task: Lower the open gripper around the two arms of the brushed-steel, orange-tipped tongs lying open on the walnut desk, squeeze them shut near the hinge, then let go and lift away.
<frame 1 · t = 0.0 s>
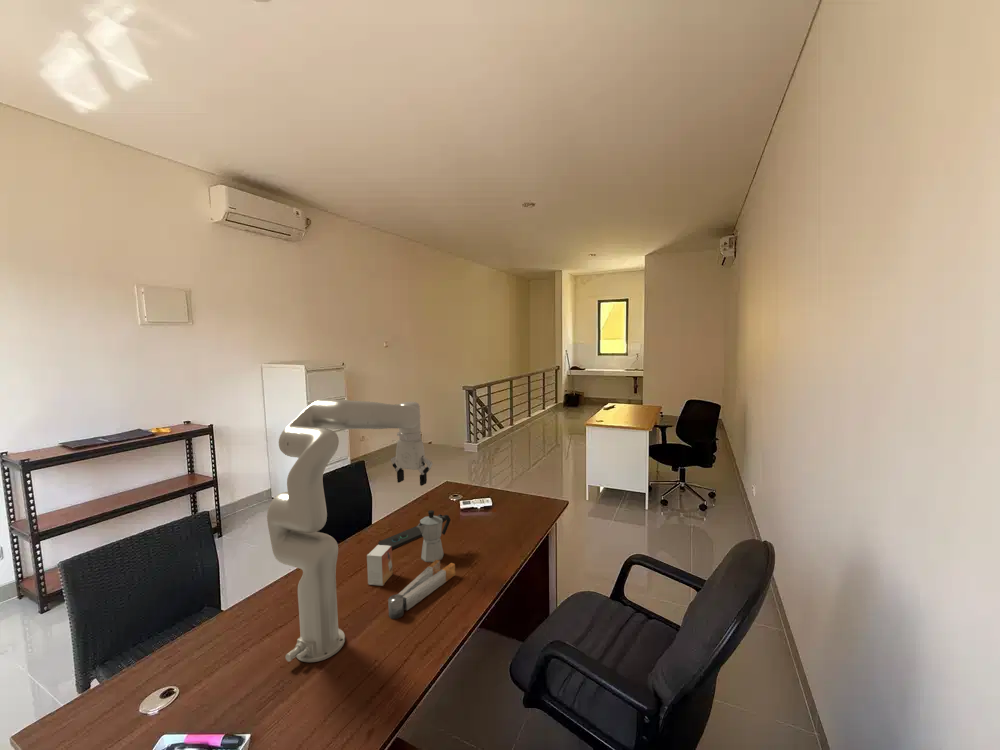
hand: (411, 482, 156), 31 cm above the table, tool pointing down, fingers open, 9 cm apart
coffee maker: (434, 556, 166), on the table
smart home device: (404, 540, 181), on the table
small box: (380, 579, 151), on the table
tongs hinge and fixed arm: (396, 614, 131), on the table
tongs loose arm: (430, 585, 142), point 2 cm above the table, hinge at 10.0°
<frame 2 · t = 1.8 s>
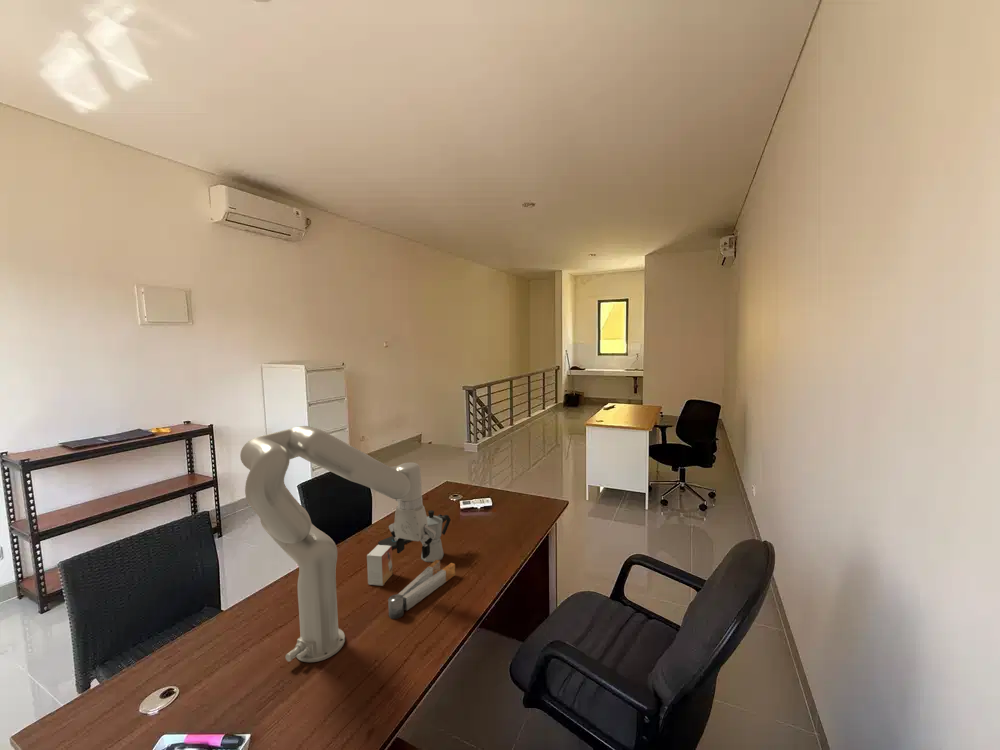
hand: (413, 553, 138), 15 cm above the table, tool pointing down, fingers open, 9 cm apart
nothing on the table moved.
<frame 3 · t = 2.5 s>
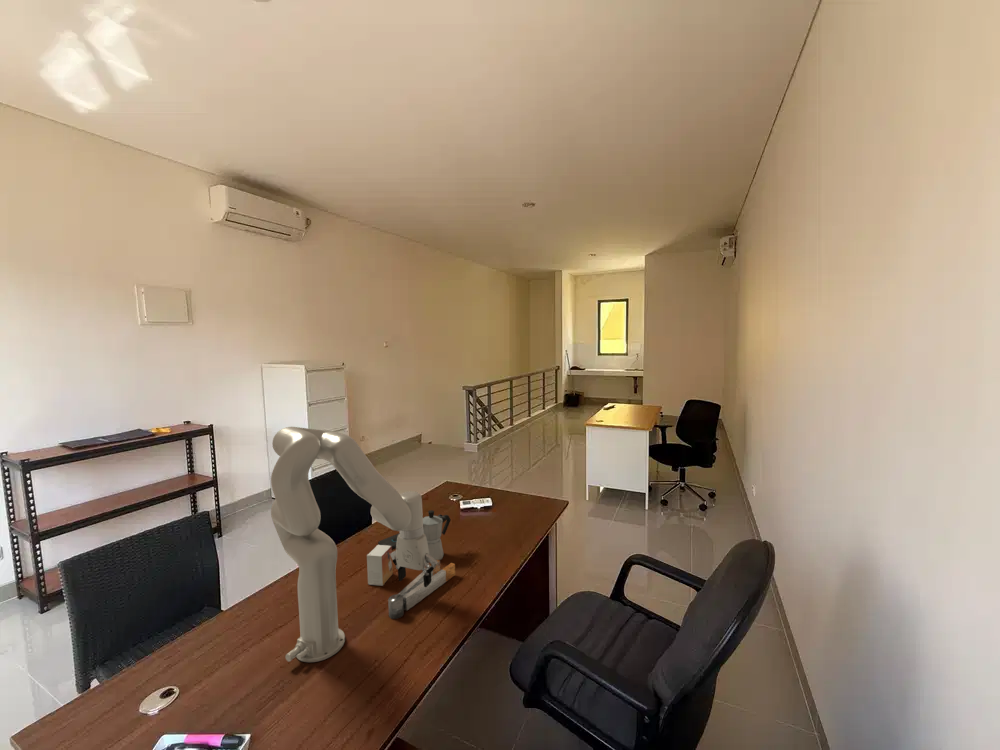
hand: (414, 581, 139), 5 cm above the table, tool pointing down, fingers open, 9 cm apart
nothing on the table moved.
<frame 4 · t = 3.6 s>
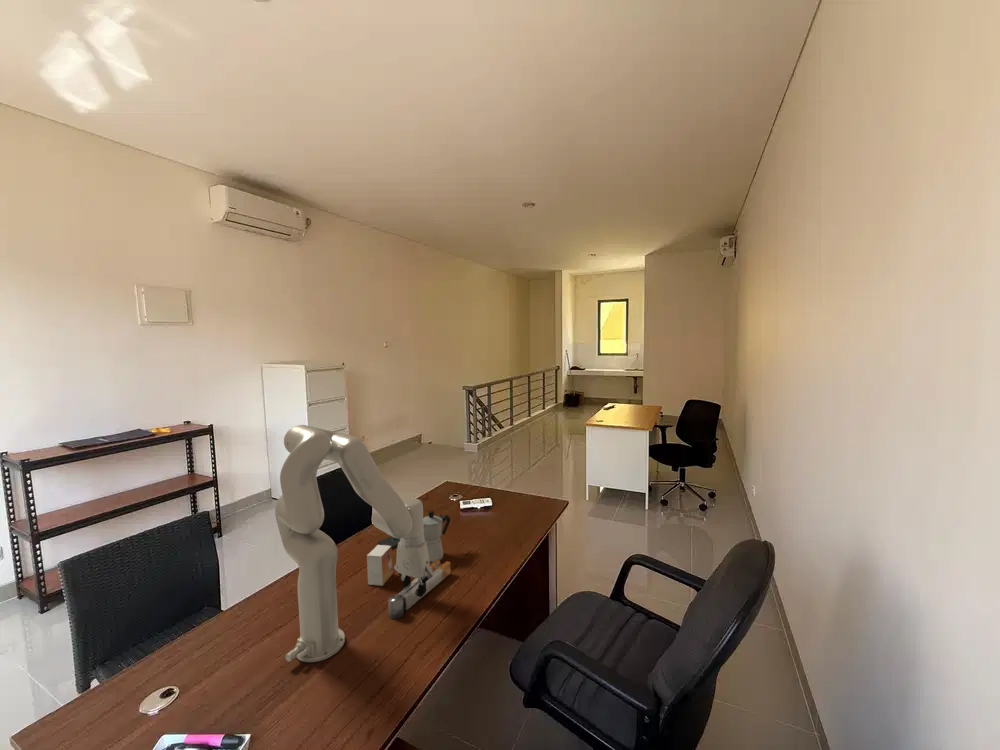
hand: (414, 592, 139), 2 cm above the table, tool pointing down, fingers open, 5 cm apart
tongs loose arm: (428, 584, 143), point 2 cm above the table, hinge at 5.3°, touching gripper
everything else where it was.
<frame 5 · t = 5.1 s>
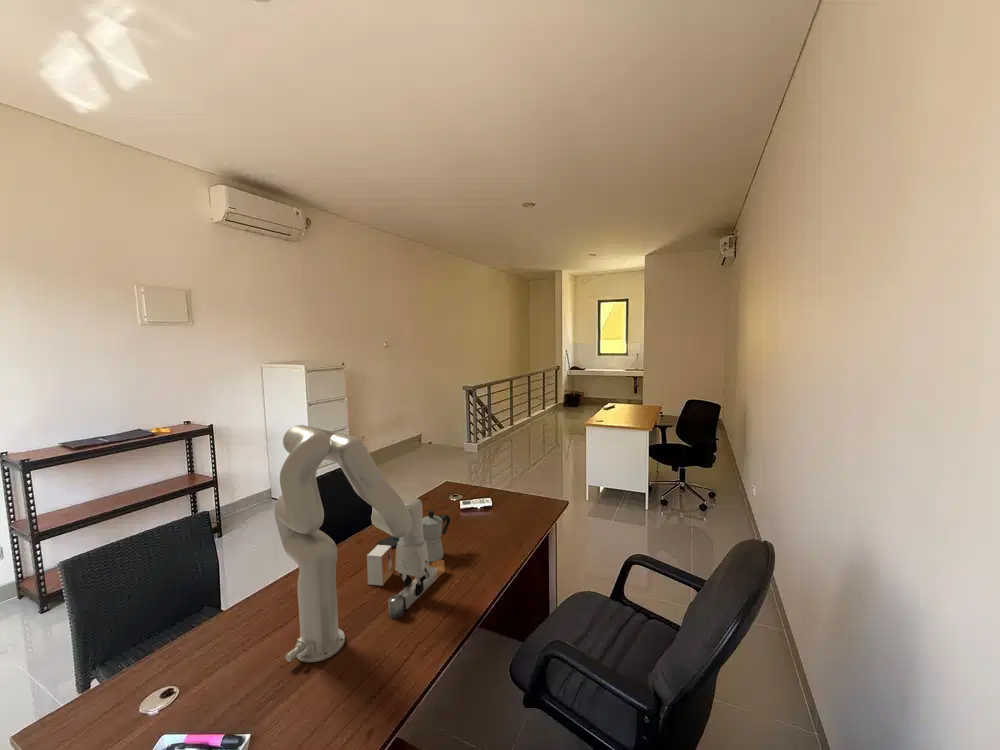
hand: (414, 591, 140), 2 cm above the table, tool pointing down, fingers open, 3 cm apart
tongs loose arm: (424, 582, 144), point 2 cm above the table, hinge at -0.5°, touching gripper
everything else where it was.
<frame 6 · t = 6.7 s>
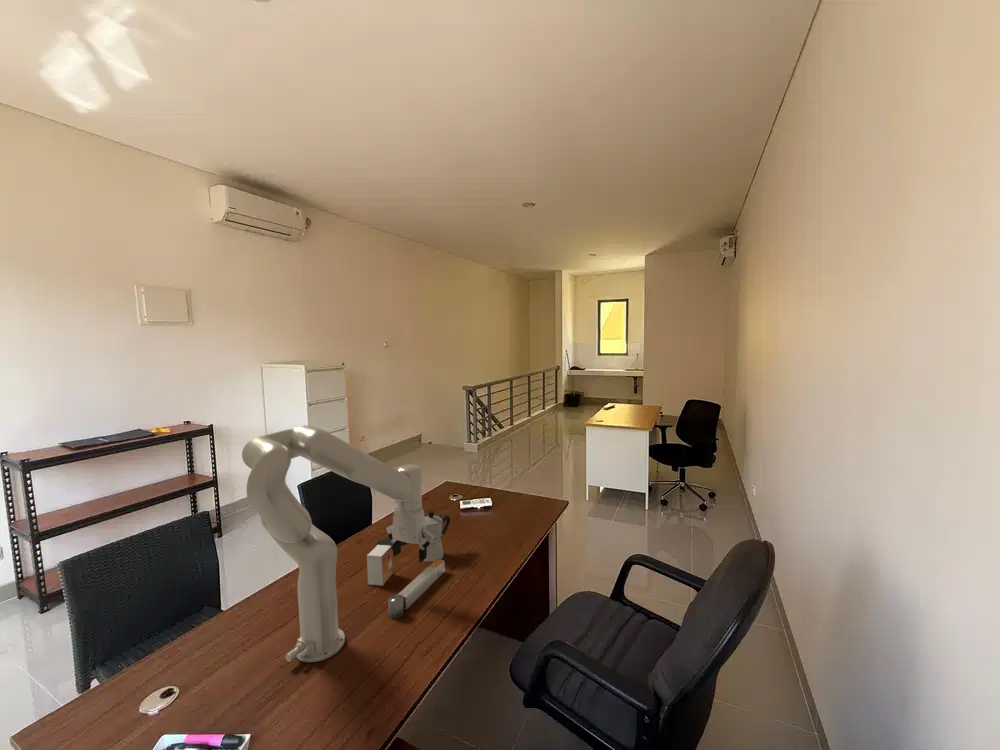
hand: (409, 557, 137), 14 cm above the table, tool pointing down, fingers open, 9 cm apart
tongs loose arm: (424, 582, 144), point 2 cm above the table, hinge at -0.3°
everything else where it was.
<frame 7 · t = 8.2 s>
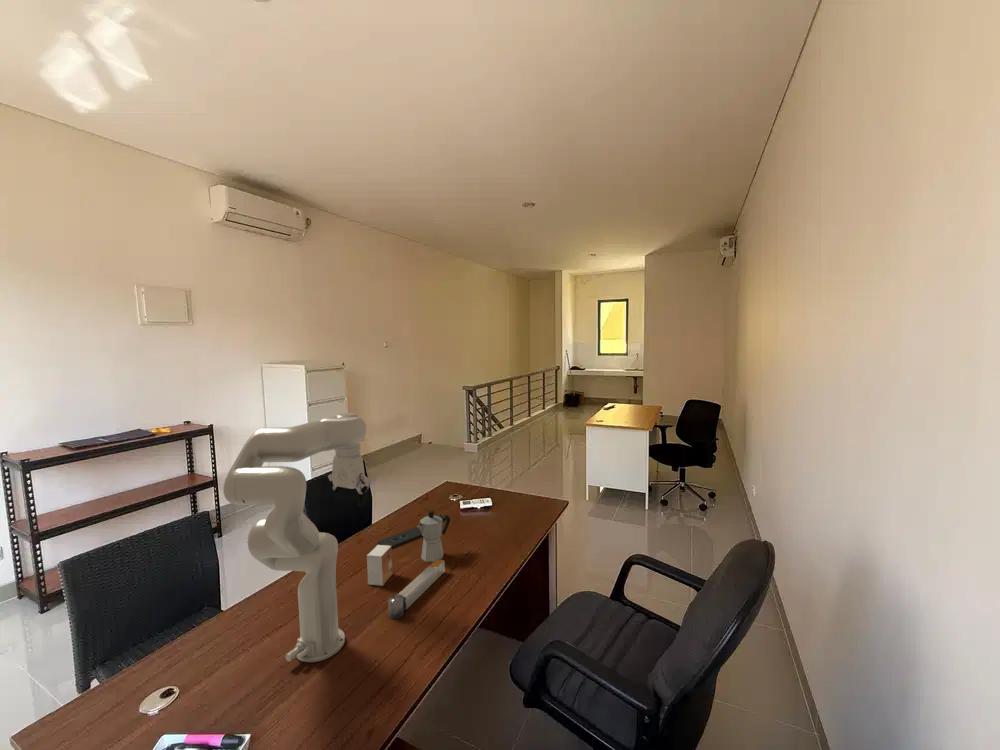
hand: (350, 502, 141), 30 cm above the table, tool pointing down, fingers open, 9 cm apart
nothing on the table moved.
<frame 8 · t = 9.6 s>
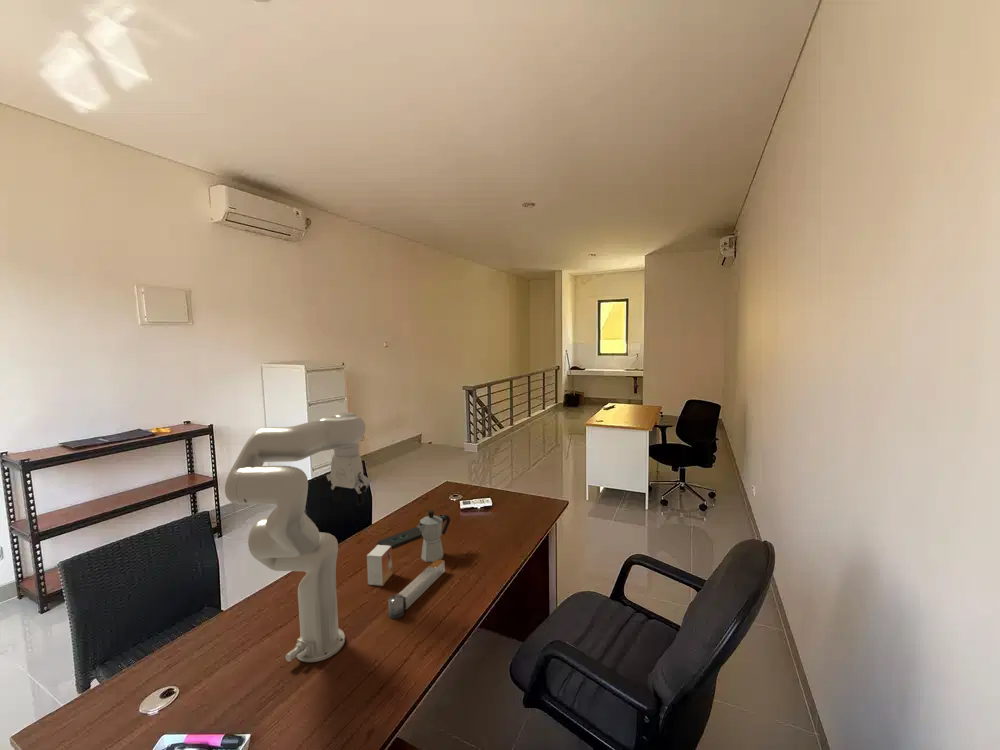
hand: (349, 502, 141), 30 cm above the table, tool pointing down, fingers open, 9 cm apart
nothing on the table moved.
at the end: tongs loose arm at +0° (first picture: +10°); the gripper is holding nothing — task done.
